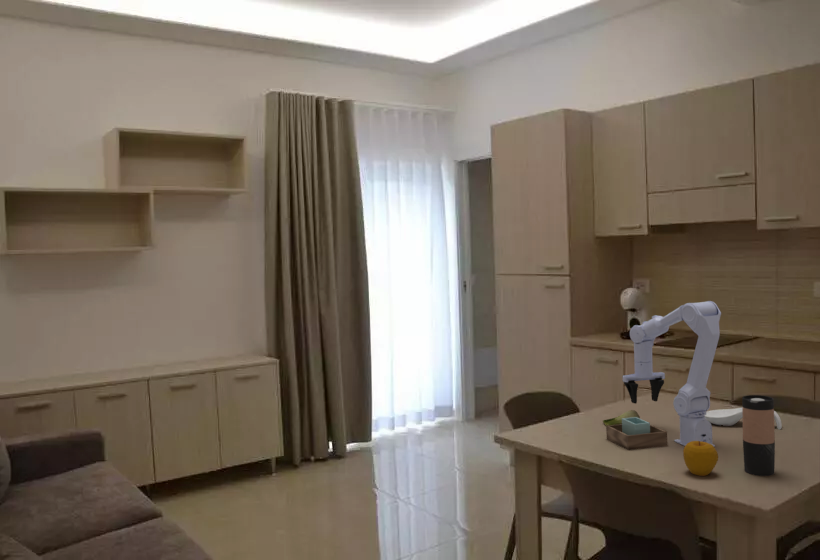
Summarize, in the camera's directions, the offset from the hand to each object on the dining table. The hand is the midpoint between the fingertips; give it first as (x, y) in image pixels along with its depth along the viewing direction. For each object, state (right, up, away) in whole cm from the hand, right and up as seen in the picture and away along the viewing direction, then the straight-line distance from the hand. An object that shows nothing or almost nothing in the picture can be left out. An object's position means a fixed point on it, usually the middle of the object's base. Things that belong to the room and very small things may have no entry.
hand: (644, 401), depth 233 cm
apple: (0, -12, -45) cm, 47 cm away
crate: (-7, -10, -14) cm, 19 cm away
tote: (-7, -9, -14) cm, 18 cm away
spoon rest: (+33, -9, +2) cm, 34 cm away
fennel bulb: (+1, -6, +9) cm, 11 cm away
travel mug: (+15, -11, -46) cm, 49 cm away
